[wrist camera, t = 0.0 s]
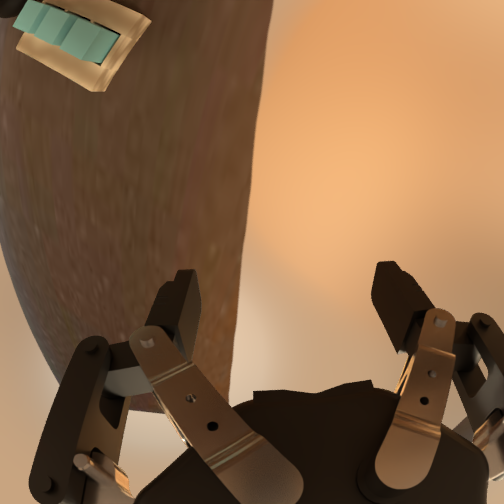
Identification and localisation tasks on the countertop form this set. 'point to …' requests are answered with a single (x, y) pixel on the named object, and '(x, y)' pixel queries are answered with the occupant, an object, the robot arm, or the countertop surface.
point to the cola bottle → (11, 8)
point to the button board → (100, 13)
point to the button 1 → (31, 16)
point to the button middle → (56, 26)
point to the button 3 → (89, 41)
